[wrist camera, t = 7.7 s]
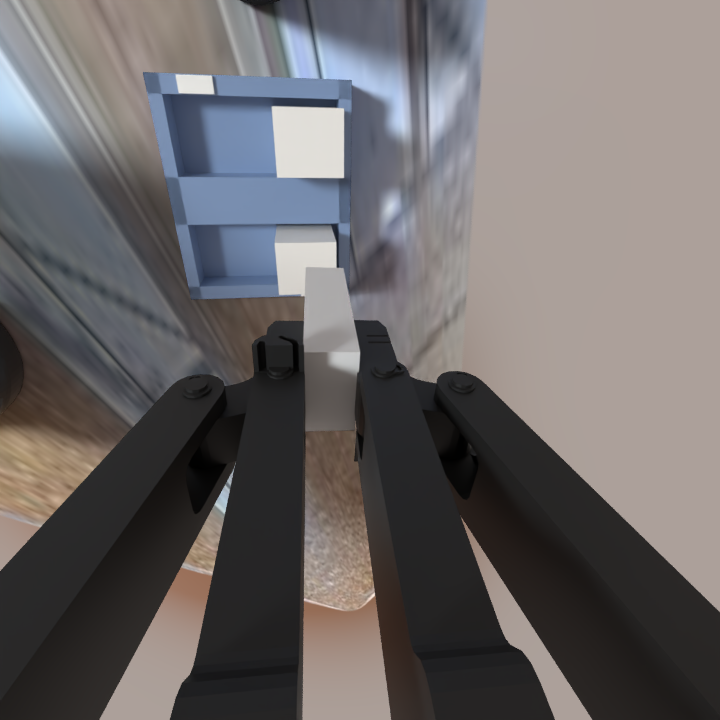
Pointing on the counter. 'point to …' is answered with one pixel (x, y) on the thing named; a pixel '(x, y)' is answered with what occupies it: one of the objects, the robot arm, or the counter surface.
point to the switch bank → (241, 176)
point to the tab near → (308, 141)
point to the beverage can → (260, 2)
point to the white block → (302, 253)
